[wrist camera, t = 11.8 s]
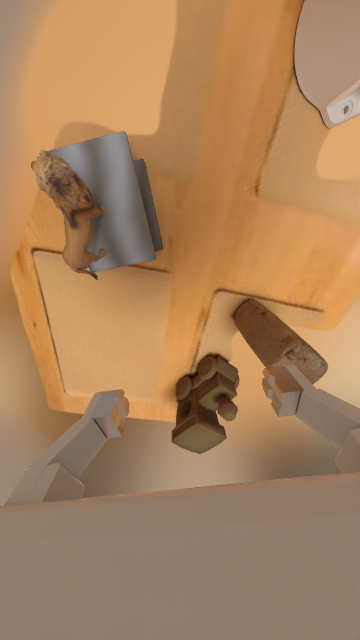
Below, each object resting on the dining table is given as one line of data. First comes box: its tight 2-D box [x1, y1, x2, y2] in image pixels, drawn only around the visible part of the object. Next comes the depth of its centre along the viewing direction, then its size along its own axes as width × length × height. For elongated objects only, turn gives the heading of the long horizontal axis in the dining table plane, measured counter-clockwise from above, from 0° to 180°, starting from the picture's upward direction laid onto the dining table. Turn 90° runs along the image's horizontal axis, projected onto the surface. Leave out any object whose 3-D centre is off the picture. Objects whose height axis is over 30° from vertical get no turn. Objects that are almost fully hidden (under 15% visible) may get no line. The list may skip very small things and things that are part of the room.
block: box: [234, 299, 328, 384], centre depth 33 cm, size 11×8×20 cm
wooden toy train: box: [172, 356, 239, 454], centre depth 45 cm, size 20×11×17 cm, turn 141°
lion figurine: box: [31, 150, 106, 280], centre depth 22 cm, size 15×5×9 cm, turn 175°
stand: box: [39, 131, 163, 272], centre depth 28 cm, size 14×16×8 cm
